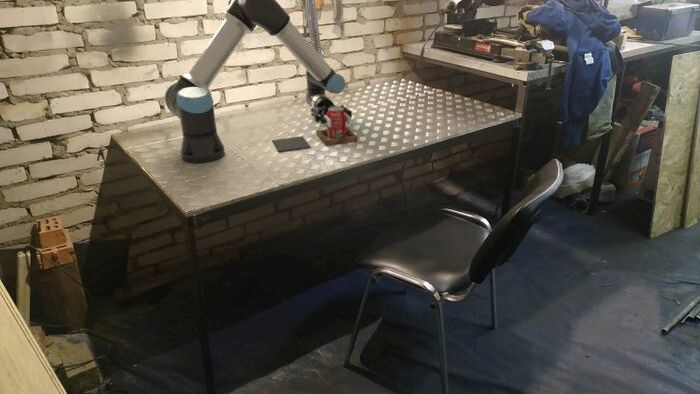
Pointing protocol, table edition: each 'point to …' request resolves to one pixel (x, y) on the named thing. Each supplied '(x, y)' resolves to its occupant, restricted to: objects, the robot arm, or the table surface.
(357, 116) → the table surface
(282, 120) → the table surface
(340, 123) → the soda can
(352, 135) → the holder
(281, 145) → the mat
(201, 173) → the table surface
